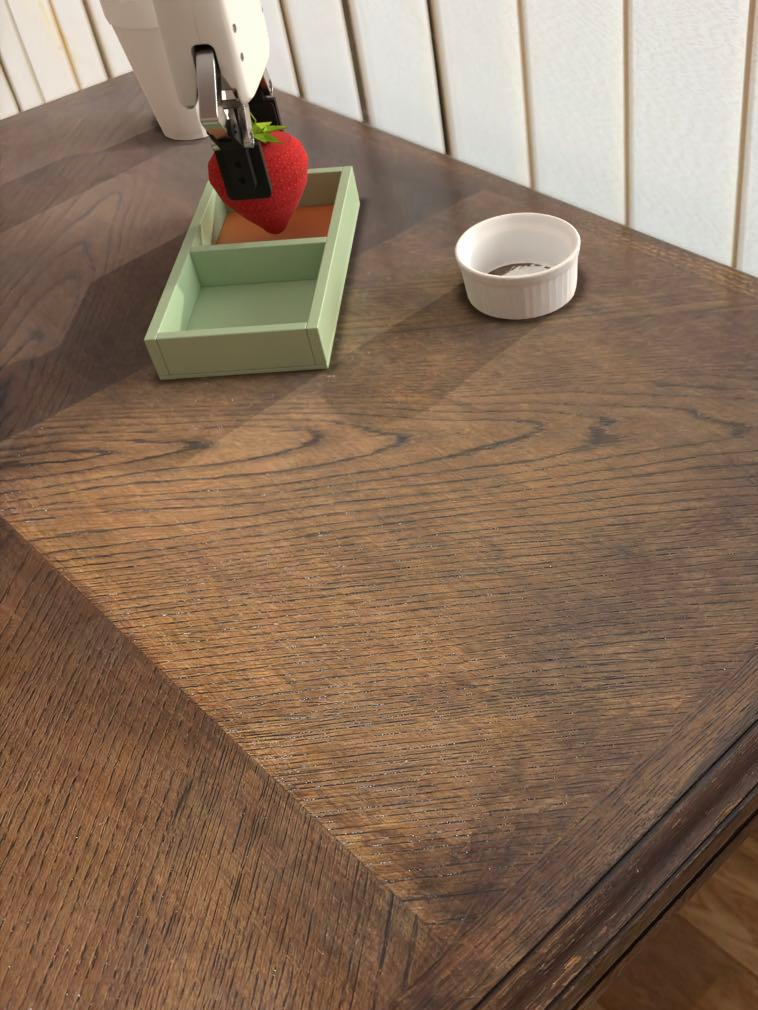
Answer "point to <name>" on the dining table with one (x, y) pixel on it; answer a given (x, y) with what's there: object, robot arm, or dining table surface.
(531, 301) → the ramekin
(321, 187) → the tray
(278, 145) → the strawberry
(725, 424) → the dining table surface
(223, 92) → the foam cup
